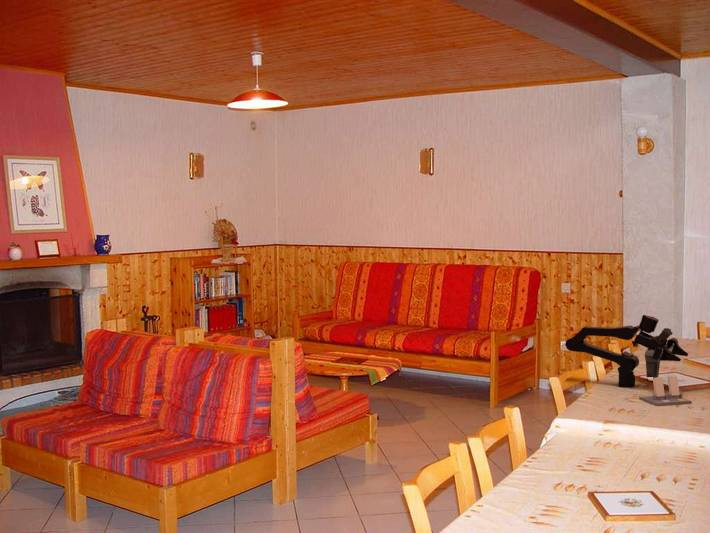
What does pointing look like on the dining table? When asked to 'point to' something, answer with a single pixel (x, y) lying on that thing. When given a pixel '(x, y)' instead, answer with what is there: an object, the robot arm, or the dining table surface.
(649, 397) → the switch unit
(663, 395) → the unmarked lever
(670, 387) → the marked lever
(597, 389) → the dining table surface
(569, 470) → the dining table surface
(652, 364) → the beverage cup
